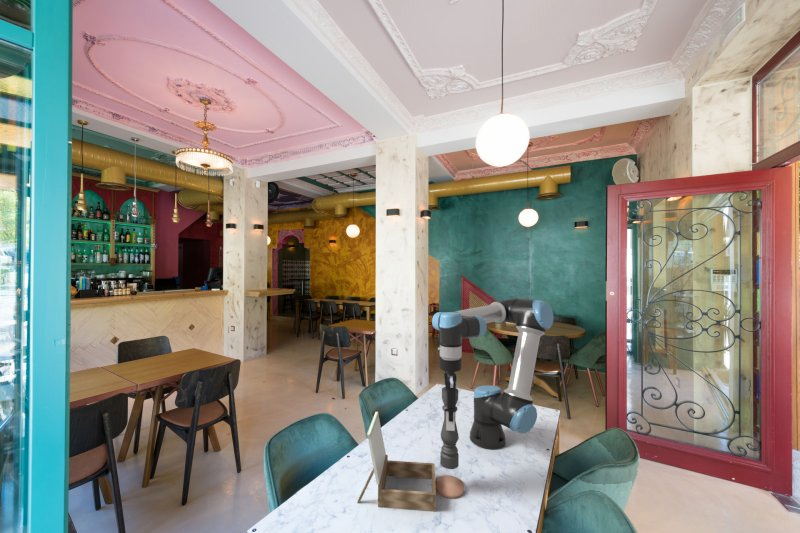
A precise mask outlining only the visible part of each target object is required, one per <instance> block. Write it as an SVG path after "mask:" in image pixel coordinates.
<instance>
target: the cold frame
mask: <svg viewBox="0 0 800 533" xmlns="http://www.w3.org/2000/svg"><path fill="white" fill-rule="evenodd" d="M388 459H389V454H386V457H385V461H384V466H383V470H382V474H381V479H380V483H379V484H377V507H378V508H384V509H385V508H387V509H399V510H400V509H401V510H409V511H411V510H413V511H424V512H425V511H426V512H437V511H436V510H437V494H436V493H437V492H436V485H435V481H436V468H435V467H436V465H435V463H434V462H433V463H432V462H421V461H420V462H419V461H402V460H390V459H389V460H388ZM373 475H375V472H374V467H373V468H372V470H371V472H370V475H369V476H368V478H367V480H366V482H365V485H364V487H363V488H362V491H361V493H360V495H359V497H358V499H357V502H356V503H358V504H360V502H361V500H362V498H363V496H364V494H365V492H366V490H367V488H368V485H369V483H370V481H371V480H372V478H373ZM388 477H395V478H409V479H425V480H431V491H417V490H406V489H393V488H392V489H390V488H386V485H387V484H386V483H387V479H388Z"/></svg>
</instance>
